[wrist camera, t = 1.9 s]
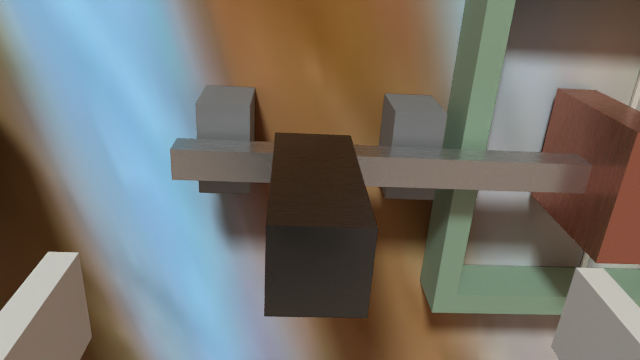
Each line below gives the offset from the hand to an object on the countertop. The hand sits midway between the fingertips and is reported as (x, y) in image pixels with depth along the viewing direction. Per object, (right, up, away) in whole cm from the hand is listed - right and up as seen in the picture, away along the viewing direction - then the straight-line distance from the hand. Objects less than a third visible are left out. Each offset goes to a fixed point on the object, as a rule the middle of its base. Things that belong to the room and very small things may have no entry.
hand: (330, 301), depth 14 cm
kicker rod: (+3, +5, +13) cm, 15 cm away
